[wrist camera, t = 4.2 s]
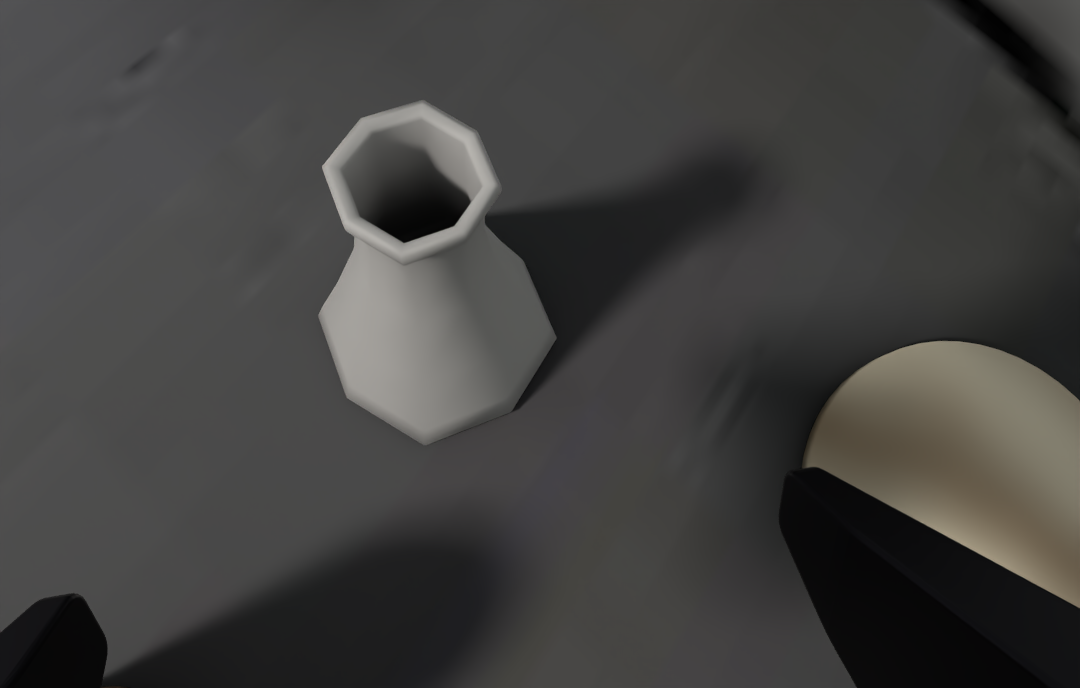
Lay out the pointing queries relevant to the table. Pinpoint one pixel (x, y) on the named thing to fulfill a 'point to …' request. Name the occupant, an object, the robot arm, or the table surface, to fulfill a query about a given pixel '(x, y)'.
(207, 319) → the table surface
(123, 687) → the pepper shaker
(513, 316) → the flask
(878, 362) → the coaster
